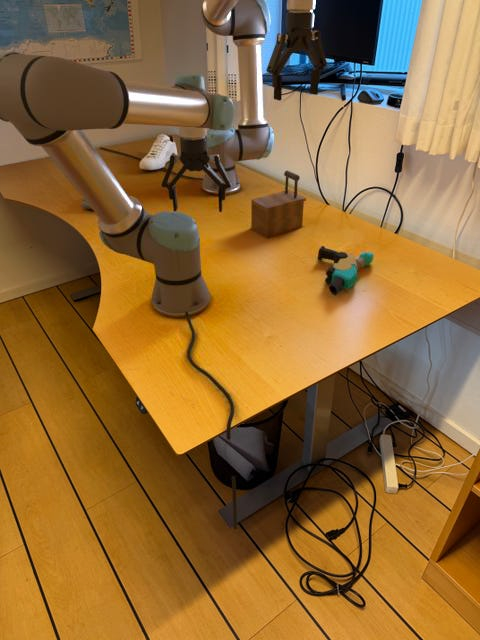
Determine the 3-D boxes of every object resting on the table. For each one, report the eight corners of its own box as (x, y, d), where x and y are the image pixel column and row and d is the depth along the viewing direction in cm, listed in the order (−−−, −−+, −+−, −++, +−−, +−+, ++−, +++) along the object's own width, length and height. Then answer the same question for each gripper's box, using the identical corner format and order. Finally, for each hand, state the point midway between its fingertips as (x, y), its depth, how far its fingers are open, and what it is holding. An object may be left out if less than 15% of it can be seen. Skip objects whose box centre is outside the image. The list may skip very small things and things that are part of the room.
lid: (289, 192, 163) (290, 167, 158) (306, 200, 157) (307, 174, 152) (251, 202, 157) (251, 176, 151) (267, 211, 150) (267, 185, 145)
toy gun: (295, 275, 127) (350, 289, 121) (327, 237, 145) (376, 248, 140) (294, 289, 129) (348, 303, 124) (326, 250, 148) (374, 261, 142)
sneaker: (133, 173, 208) (129, 144, 201) (161, 153, 230) (158, 127, 223) (155, 175, 205) (151, 146, 198) (180, 155, 227) (178, 129, 220)
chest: (286, 217, 168) (287, 193, 163) (302, 226, 162) (303, 201, 157) (251, 228, 162) (251, 202, 157) (266, 237, 156) (267, 211, 150)
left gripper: (239, 133, 132) (240, 205, 145) (151, 132, 134) (159, 204, 146) (237, 140, 126) (238, 215, 139) (145, 139, 128) (154, 214, 140)
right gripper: (326, 8, 136) (319, 89, 149) (254, 12, 125) (254, 99, 138) (344, 9, 131) (336, 93, 143) (271, 14, 120) (269, 104, 133)
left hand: (198, 210), depth 142 cm, fingers open, 13 cm apart
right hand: (295, 96), depth 141 cm, fingers open, 13 cm apart
